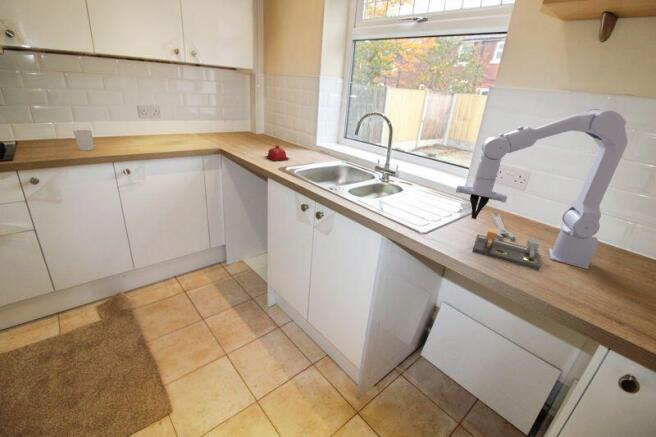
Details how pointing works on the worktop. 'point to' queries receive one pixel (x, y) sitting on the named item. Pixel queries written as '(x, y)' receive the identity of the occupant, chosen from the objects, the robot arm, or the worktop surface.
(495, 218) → the adjustable wrench
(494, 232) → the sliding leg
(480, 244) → the hole plate
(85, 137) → the white cup
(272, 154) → the butter dish
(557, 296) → the worktop surface
